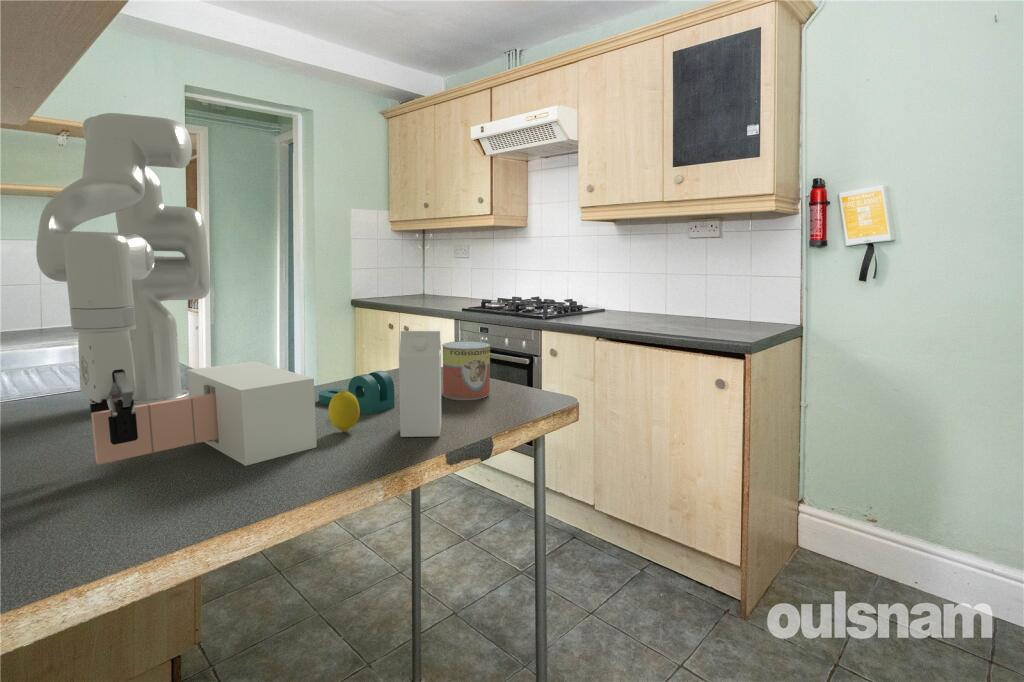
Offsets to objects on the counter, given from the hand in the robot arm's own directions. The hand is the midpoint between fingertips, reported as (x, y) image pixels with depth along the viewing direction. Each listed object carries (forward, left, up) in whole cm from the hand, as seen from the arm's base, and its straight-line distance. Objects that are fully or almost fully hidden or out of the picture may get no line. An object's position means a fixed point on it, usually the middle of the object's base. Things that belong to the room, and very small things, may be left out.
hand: (114, 434), depth 84 cm
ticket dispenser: (0, +20, -6) cm, 21 cm away
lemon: (+7, +34, -6) cm, 35 cm away
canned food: (+2, +70, -6) cm, 70 cm away
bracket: (-9, +46, -6) cm, 47 cm away
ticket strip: (0, +7, -4) cm, 8 cm away
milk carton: (+17, +44, -6) cm, 48 cm away
